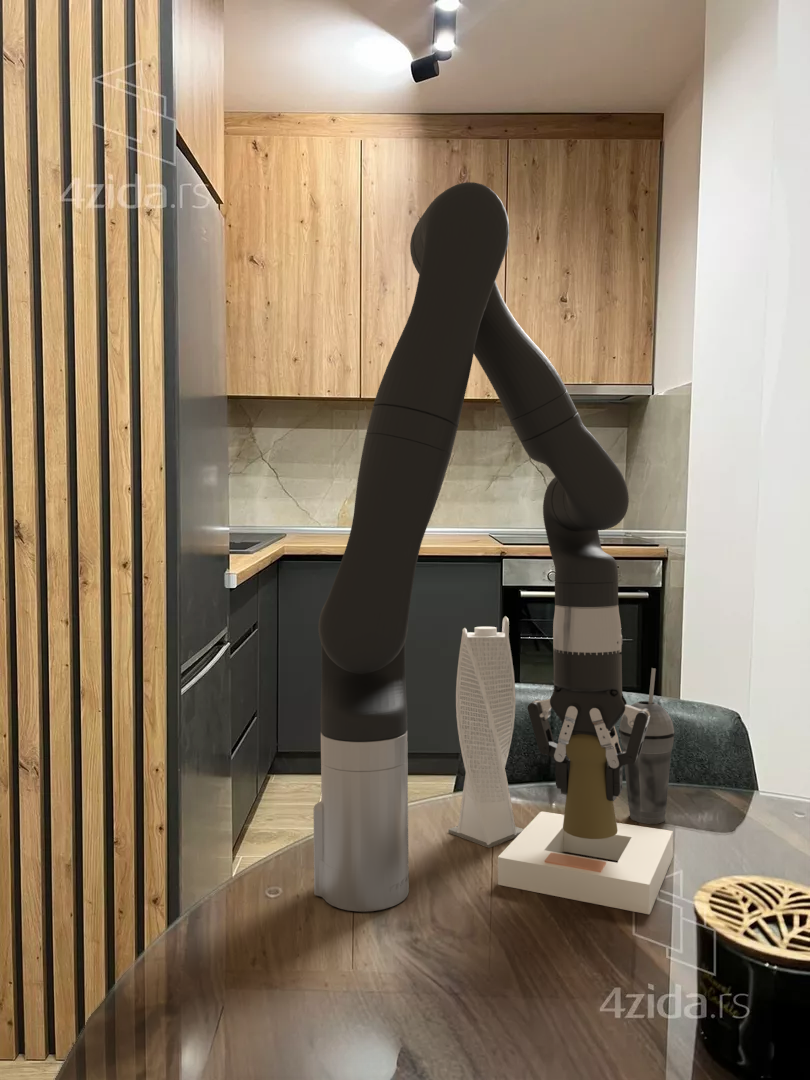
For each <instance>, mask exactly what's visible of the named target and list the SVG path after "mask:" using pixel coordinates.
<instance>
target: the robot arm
mask: <svg viewBox="0 0 810 1080" xmlns="http://www.w3.org/2000/svg"><path fill="white" fill-rule="evenodd" d="M509 241H510V223H509V217H508V213H507V210H506V208H505V206H504V203H503V201H502V199H500V197H499V196H498V195H497V193H496V192H495V191H493V190H492V189H491V187H488V186H487V185H484V184H482V183H478V182H474V181H473V182H470V181H468V182H462V183H458V184H456V185H453V186H451V187H449V188H447V189H445V190H444V191H443V192H441V193H440V194H438V195H437V196H436V197H435V198H434V199H433V201H432V202H431V203H430V204H429V205H428V207H427V208H426V210H425V211H424V212H423V214H422V215H421V217H420V218H419V220H418V221H417V223H416V224H415V226H414V229H413V232H412V234H411V237H410V245H409V246H410V247H409V249H410V257H411V261H412V263H413V266H414V268H415V269H416V271H417V274H418V275H419V276H418V281H417V285H416V286H417V287H416V290H415V291H416V292H415V294H414V295H415V296H414V299H413V303H412V306H411V310H410V312H409V315H408V318H407V320H406V323H405V326H404V328H403V330H402V332H401V334H400V337H399V339H398V341H397V343H396V346H395V347H394V350H393V351H392V352H393V353H392V354H391V356H390V358H389V361H388V364H387V366H386V368H385V371H384V372H383V375H382V378H381V381H380V383H379V387H378V390H377V393H376V394H375V395H376V396H375V399H374V402H373V406H372V410H371V413H370V417H369V420H368V424H367V425H368V426H367V430H366V433H365V437H364V443H363V448H362V452H361V457H360V463H359V470H358V476H357V484H356V489H355V500H354V501H355V502H354V506H353V507H354V508H353V516H352V523H351V526H350V527H351V529H350V532H349V536H348V540H347V543H346V547H345V549H344V552H343V555H342V559H341V561H340V565H339V568H338V570H337V573H336V576H335V578H334V581H333V583H332V585H331V589H330V591H329V594H328V596H327V598H326V601H325V602H324V604H323V607H322V608H321V611H320V614H319V620H318V623H317V625H318V636H319V640H320V643H321V644H320V645H321V646H320V648H321V650H320V651H321V652H320V653H321V661H320V662H321V683H320V684H321V688H320V690H321V691H320V709H319V711H320V713H319V714H320V715H319V716H320V764H321V765H320V768H321V769H320V773H321V774H320V777H321V778H320V780H321V781H320V782H321V783H320V784H321V800H320V801H319V802H317V803H315V804H314V807H313V886H314V887H313V891H314V893H313V894H314V895H315V896H317V897H321V898H322V899H323V900H324V901H325V902H326V903H328V904H329V905H330V906H332V907H335V908H338V909H339V910H340V909H341V910H345V911H349V912H350V911H352V912H374V911H381V910H385V909H389V908H392V907H394V906H396V905H398V904H401V903H402V902H403V901H404V900H405V899H406V898H407V897H408V895H409V889H410V888H409V887H410V885H409V883H410V881H409V880H410V870H409V868H410V867H409V784H408V782H409V781H408V780H409V779H408V778H409V776H408V775H409V774H408V773H409V772H408V771H409V770H408V769H409V768H408V767H409V766H408V765H409V763H408V701H407V685H406V684H407V683H406V640H407V637H408V631H409V618H410V609H411V601H412V595H413V587H414V582H415V574H416V570H417V564H418V558H419V554H420V549H421V546H422V543H423V539H424V536H425V533H426V530H427V527H428V526H429V523H430V521H431V517H432V515H433V513H434V510H435V507H436V504H437V501H438V498H439V495H440V493H441V489H442V486H443V483H444V480H445V476H446V472H447V470H448V466H449V463H450V460H451V456H452V452H453V449H454V446H455V445H454V444H455V440H456V436H457V431H458V428H459V425H460V420H461V415H462V409H463V405H464V400H465V397H466V393H467V389H468V388H467V387H468V384H469V380H470V375H471V370H472V369H471V368H472V364H473V359H474V357H475V358H476V360H477V362H478V363H479V365H480V367H481V368H482V370H483V372H484V373H485V376H486V377H487V379H488V380H489V382H490V384H491V386H492V388H493V390H494V392H495V394H496V396H497V397H498V399H499V401H500V403H501V405H502V407H503V409H504V412H505V413H506V416H507V418H508V420H509V421H510V423H511V425H512V427H513V429H514V431H515V432H514V433H516V435H517V438H518V440H519V441H520V443H521V445H522V447H523V449H524V451H525V453H526V454H527V455H528V456H529V457H530V459H532V460H533V461H535V462H538V463H541V464H544V465H545V466H547V467H548V469H549V470H550V471H551V473H552V474H553V475H554V477H553V478H552V479H551V481H550V482H549V484H548V485H547V487H546V490H545V492H544V496H543V505H542V515H543V516H542V518H543V523H544V524H543V525H544V529H545V534H546V538H547V542H548V543H547V544H548V548H549V551H550V556H551V559H552V561H553V566H554V615H553V622H552V624H553V625H552V627H553V628H552V629H553V630H552V640H553V641H552V642H553V643H552V644H553V646H552V647H553V651H552V652H553V655H552V656H553V692H552V694H551V696H550V698H548V699H544V700H541V699H539V698H538V699H534V701H532V702H530V703H529V704H528V705H527V711H528V715H529V718H530V723H531V726H532V730H533V734H534V736H535V740H536V744H537V747H538V751H539V754H542V755H544V756H545V755H546V756H549V757H551V758H552V759H553V760H554V764H555V785H556V788H557V789H559V790H560V794H561V795H565V796H566V795H567V788H568V777H569V768H570V759H569V758H568V757H567V755H566V744H568V743H569V741H570V738H571V736H572V735H576V734H587V735H593V736H596V737H598V738H599V741H600V744H601V747H602V748H605V749H606V758H607V761H608V762H607V764H608V767H607V768H606V788H607V800H609V801H613V802H615V800H616V799H617V797H619V796H620V795H621V793H622V791H623V766H625V765H626V764H630V765H631V764H634V763H635V761H636V759H638V758H639V756H640V752H641V749H642V745H643V742H644V738H645V734H646V731H647V727H648V724H649V720H650V717H651V712H650V710H649V709H647V708H643V709H639V708H636V707H633V706H631V704H628V703H627V700H626V699H625V696H624V694H623V673H622V672H623V671H622V670H623V669H622V668H623V667H622V666H623V665H622V664H623V663H622V654H623V653H622V645H623V635H622V624H621V623H622V622H621V617H620V608H619V570H618V564H617V563H618V562H617V561H616V559H615V558H614V557H613V556H612V555H611V554H609V553H607V552H605V551H604V550H603V548H602V544H601V540H600V535H599V531H605V530H609V529H612V528H614V527H616V526H617V525H618V524H620V523H621V522H622V520H623V519H624V518H625V517H626V515H627V512H628V510H629V509H628V508H629V503H630V502H629V499H630V497H629V491H628V486H627V483H626V480H625V478H624V475H623V473H622V472H621V470H620V468H619V467H618V465H617V464H616V463H615V461H614V460H613V459H612V458H611V455H609V453H608V452H607V451H606V450H605V449H604V447H603V446H602V445H601V444H600V442H599V440H598V439H597V438H596V437H595V436H594V435H593V434H592V433H591V432H590V431H589V429H587V427H586V426H585V424H584V422H583V420H582V418H581V416H580V414H579V412H578V410H577V408H576V406H575V403H574V401H573V400H572V397H571V396H570V393H569V392H568V389H567V387H566V385H565V383H564V382H563V379H562V378H561V375H560V374H559V373H558V371H557V369H556V368H555V366H554V365H553V364H552V363H553V362H551V361H550V359H549V358H548V357H547V356H546V355H545V353H544V352H543V351H542V350H541V348H540V347H539V346H538V345H537V344H536V343H535V342H534V341H533V340H532V339H531V337H529V335H528V334H527V332H525V330H524V329H523V328H522V326H521V325H520V324H519V322H518V321H517V320H516V318H515V317H514V316H513V313H512V312H511V311H510V309H509V307H508V306H507V304H506V302H505V300H504V299H503V296H502V294H501V291H500V289H499V286H498V284H497V277H498V274H499V271H500V268H501V267H502V264H503V262H504V259H505V256H506V253H507V249H508V246H509ZM551 709H552V710H553V712H554V713H555V715H556V716H557V718H558V719H559V720H560V722H561V723H562V727H561V729H560V732H559V736H558V741H557V742H558V743H556V742H555V739H554V736H553V733H552V728H551V726H550V721H549V718H550V717H551ZM623 714H625V715H626V716H627V718H628V725H629V726H630V727H632V728H633V729H632V732H631V736H630V739H629V743H628V746H627V750H626V751H623V750H622V749H621V746H620V745H621V744H620V743H619V736H618V732H617V730H616V727H615V725H616V724H617V723H618V722H619V720H621V718H622V715H623Z"/></svg>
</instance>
